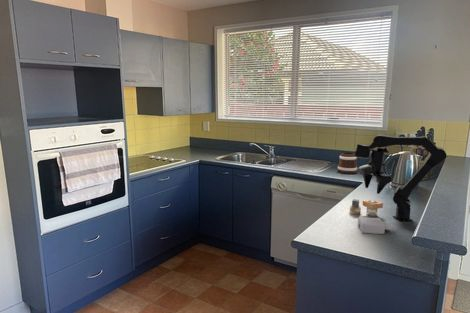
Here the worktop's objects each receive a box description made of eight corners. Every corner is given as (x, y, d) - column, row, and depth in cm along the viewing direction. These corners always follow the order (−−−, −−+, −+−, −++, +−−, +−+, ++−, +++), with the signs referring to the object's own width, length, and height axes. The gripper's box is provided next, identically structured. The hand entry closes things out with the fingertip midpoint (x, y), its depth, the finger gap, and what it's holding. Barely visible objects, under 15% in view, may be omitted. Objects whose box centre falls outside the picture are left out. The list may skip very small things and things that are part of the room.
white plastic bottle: (398, 236, 145) (361, 233, 147) (391, 227, 154) (357, 226, 156) (399, 225, 144) (362, 223, 146) (392, 218, 153) (358, 216, 155)
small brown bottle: (361, 212, 174) (361, 199, 173) (359, 215, 169) (360, 202, 168) (350, 210, 176) (351, 198, 175) (348, 213, 172) (349, 200, 171)
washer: (382, 207, 167) (382, 203, 167) (371, 209, 165) (371, 204, 164) (373, 203, 173) (373, 199, 173) (362, 205, 171) (362, 200, 171)
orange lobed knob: (377, 214, 171) (378, 200, 170) (377, 217, 166) (378, 203, 165) (366, 212, 173) (367, 198, 172) (366, 216, 168) (366, 201, 167)
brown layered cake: (358, 174, 259) (359, 155, 257) (338, 173, 262) (339, 154, 260) (355, 169, 278) (356, 151, 276) (336, 168, 281) (336, 150, 279)
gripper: (351, 156, 172) (347, 185, 175) (374, 164, 155) (369, 197, 158) (370, 156, 175) (366, 185, 178) (395, 164, 157) (390, 196, 161)
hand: (372, 190), depth 169 cm, fingers open, 9 cm apart
